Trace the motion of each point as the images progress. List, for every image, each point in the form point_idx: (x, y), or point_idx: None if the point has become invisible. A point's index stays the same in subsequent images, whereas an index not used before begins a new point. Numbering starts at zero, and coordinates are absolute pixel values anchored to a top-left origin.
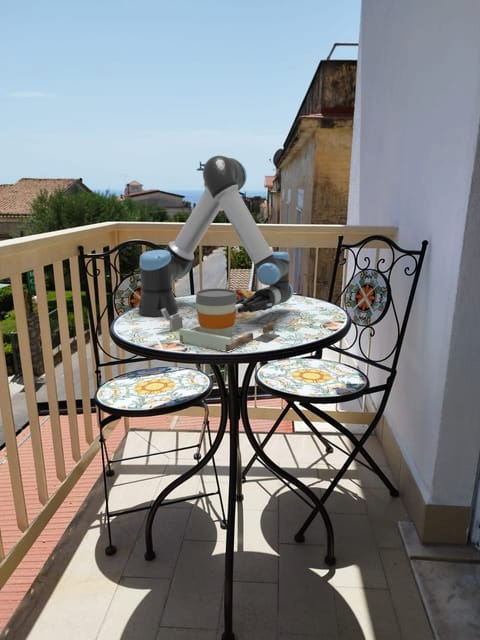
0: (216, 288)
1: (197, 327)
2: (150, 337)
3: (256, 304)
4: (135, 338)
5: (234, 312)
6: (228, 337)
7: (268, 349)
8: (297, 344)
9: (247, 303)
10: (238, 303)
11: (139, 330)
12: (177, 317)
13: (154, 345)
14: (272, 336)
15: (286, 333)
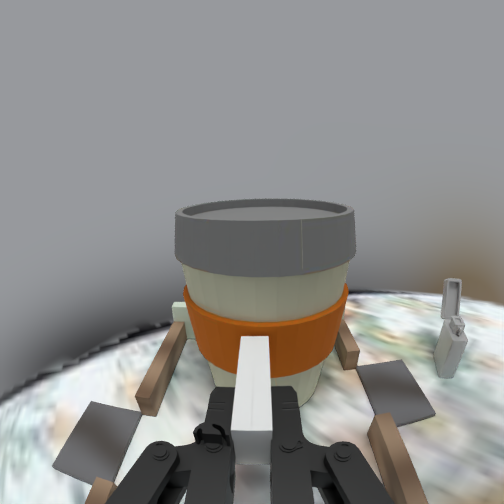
0: (332, 216)
1: (423, 406)
2: (410, 316)
3: (120, 484)
4: (419, 303)
5: (184, 290)
6: (180, 307)
7: (88, 366)
8: (14, 403)
9: (215, 483)
10: (289, 439)
11: (470, 320)
12: (452, 331)
13: (355, 303)
14: (76, 449)
15: (30, 498)
